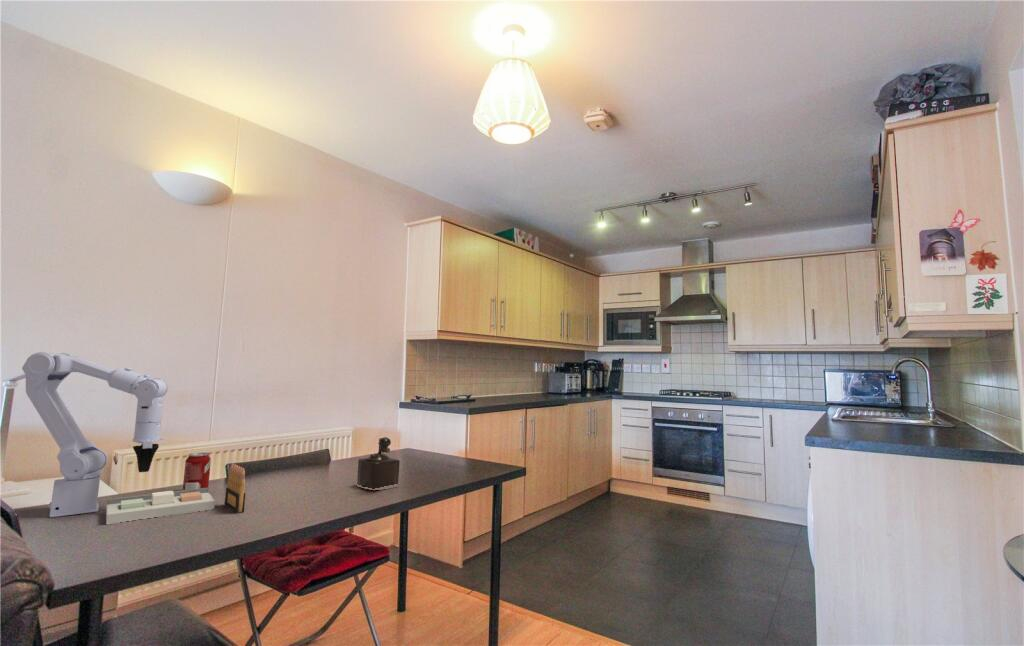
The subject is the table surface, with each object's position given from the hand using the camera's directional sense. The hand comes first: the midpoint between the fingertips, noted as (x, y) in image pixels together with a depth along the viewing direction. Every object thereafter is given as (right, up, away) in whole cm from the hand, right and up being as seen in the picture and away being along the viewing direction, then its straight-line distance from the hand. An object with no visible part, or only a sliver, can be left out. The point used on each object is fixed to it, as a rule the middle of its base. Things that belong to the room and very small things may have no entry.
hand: (143, 471), depth 132 cm
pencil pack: (+24, -11, +2) cm, 27 cm away
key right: (+11, -10, +2) cm, 16 cm away
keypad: (+7, -10, -2) cm, 12 cm away
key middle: (+7, -9, -2) cm, 11 cm away
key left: (+2, -9, -6) cm, 11 cm away
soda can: (+3, -12, +17) cm, 21 cm away
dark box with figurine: (+58, -15, +30) cm, 67 cm away
